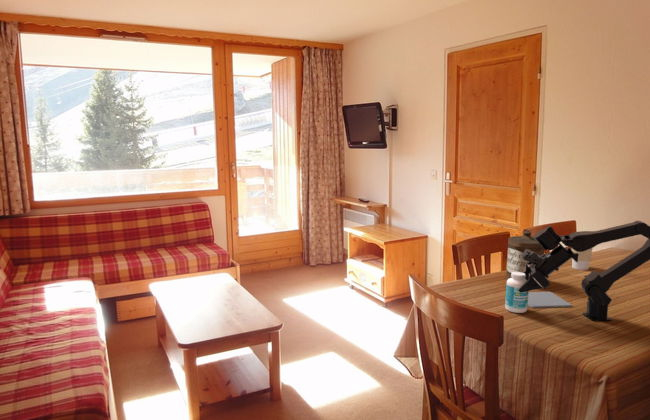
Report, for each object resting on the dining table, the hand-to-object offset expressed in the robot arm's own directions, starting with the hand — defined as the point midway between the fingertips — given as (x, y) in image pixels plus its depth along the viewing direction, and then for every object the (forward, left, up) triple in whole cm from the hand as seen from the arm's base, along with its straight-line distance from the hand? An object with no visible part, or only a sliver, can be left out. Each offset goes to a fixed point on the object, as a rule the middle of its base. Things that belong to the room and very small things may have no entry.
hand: (518, 287), depth 168 cm
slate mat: (+9, -14, -8) cm, 18 cm away
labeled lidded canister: (+33, -19, -9) cm, 39 cm away
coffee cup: (+50, -54, -9) cm, 74 cm away
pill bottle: (0, 0, -9) cm, 9 cm away
